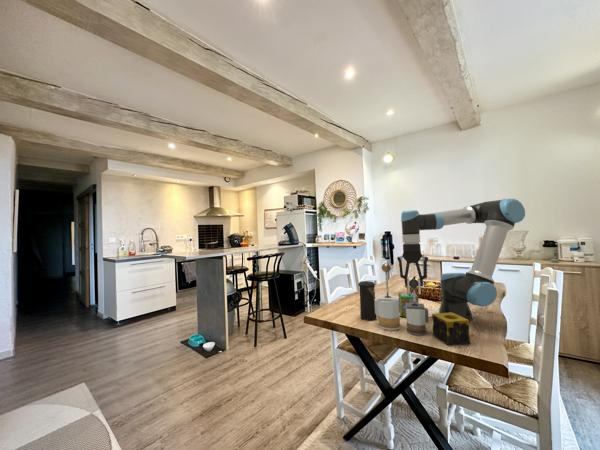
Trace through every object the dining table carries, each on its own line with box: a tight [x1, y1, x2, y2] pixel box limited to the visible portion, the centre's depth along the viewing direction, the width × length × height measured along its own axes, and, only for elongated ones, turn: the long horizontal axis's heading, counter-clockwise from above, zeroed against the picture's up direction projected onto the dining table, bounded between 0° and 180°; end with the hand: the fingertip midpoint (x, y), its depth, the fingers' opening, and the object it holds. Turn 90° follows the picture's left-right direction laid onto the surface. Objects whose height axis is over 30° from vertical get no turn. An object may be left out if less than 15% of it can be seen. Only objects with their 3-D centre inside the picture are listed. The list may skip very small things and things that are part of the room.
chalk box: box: [397, 288, 420, 318], centre depth 137 cm, size 9×9×15 cm
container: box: [357, 280, 378, 321], centre depth 136 cm, size 9×9×20 cm
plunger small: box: [409, 278, 418, 306], centre depth 115 cm, size 4×4×16 cm
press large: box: [374, 294, 402, 331], centre depth 123 cm, size 12×10×14 cm
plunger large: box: [381, 263, 392, 298], centre depth 124 cm, size 4×4×18 cm
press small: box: [405, 303, 430, 337], centre depth 115 cm, size 10×8×12 cm
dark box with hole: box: [431, 312, 471, 346], centre depth 106 cm, size 10×10×10 cm
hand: (414, 293), depth 115 cm, fingers closed on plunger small, 4 cm apart
